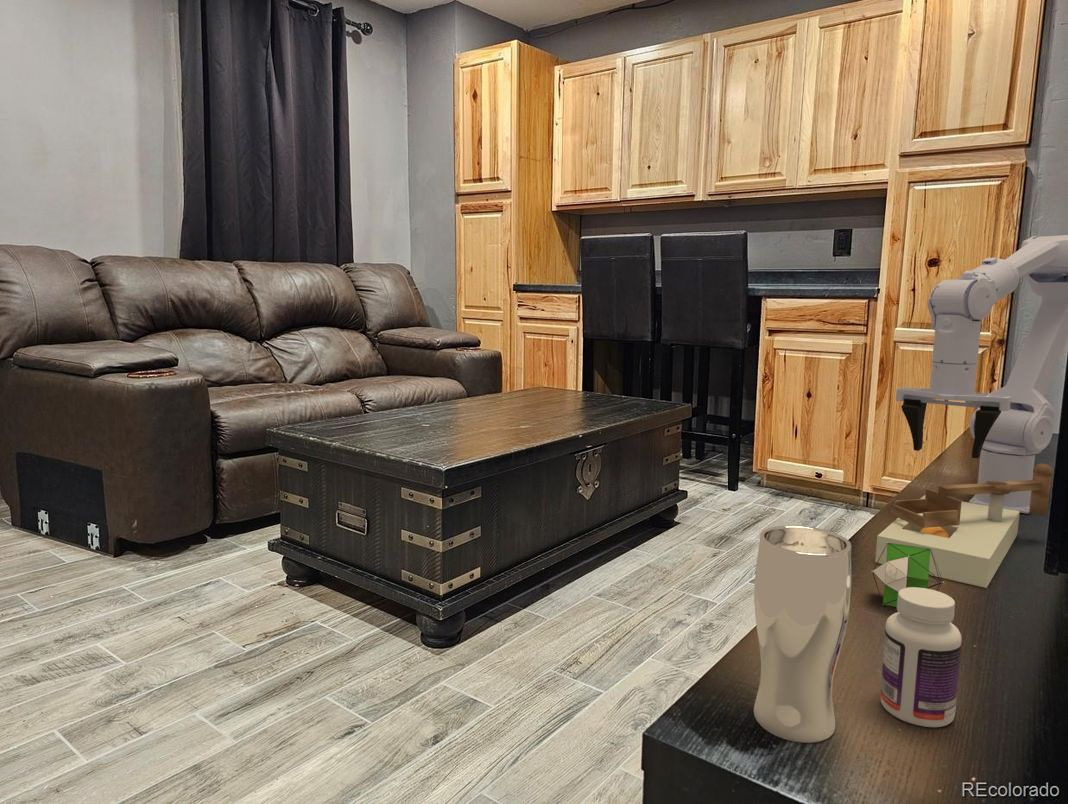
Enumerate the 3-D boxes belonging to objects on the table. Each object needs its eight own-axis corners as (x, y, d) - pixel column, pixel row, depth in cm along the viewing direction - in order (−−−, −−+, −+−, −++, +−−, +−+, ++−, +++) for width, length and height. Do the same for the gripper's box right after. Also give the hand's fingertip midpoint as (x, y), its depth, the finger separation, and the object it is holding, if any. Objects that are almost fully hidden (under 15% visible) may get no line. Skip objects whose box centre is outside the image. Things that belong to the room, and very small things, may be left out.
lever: (1026, 505, 100) (1031, 458, 99) (1063, 518, 95) (1069, 468, 94) (890, 516, 95) (894, 466, 94) (921, 529, 90) (925, 477, 89)
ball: (954, 539, 93) (933, 559, 93) (930, 519, 94) (910, 538, 95) (958, 540, 89) (937, 560, 90) (934, 519, 91) (913, 539, 91)
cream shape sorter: (922, 517, 108) (926, 471, 107) (1017, 535, 100) (1022, 485, 99) (875, 562, 90) (879, 507, 89) (986, 588, 82) (992, 527, 81)
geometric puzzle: (873, 564, 84) (875, 523, 78) (940, 574, 81) (946, 532, 75) (868, 618, 79) (869, 579, 74) (938, 631, 76) (945, 591, 71)
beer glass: (850, 753, 53) (865, 558, 50) (752, 741, 54) (762, 551, 52) (831, 700, 59) (843, 527, 57) (744, 691, 61) (752, 521, 58)
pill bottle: (961, 708, 58) (972, 595, 57) (945, 738, 54) (957, 618, 53) (890, 684, 62) (899, 577, 60) (870, 711, 58) (879, 597, 57)
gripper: (893, 361, 106) (886, 450, 108) (1009, 368, 97) (998, 465, 99) (905, 358, 111) (898, 443, 113) (1016, 364, 102) (1006, 457, 104)
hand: (946, 453), depth 107 cm, fingers open, 7 cm apart
